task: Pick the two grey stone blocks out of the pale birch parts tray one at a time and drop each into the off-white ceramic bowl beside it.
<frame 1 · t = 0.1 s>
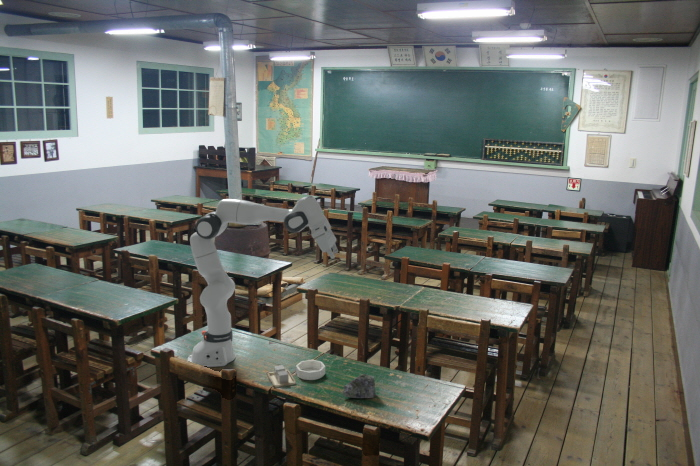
hand: (335, 255, 249), 54 cm above the table, tool tilted 30°, fingers open, 8 cm apart
stone far: (279, 376, 248), point 1 cm above the table, touching tray
bowl: (310, 374, 251), on the table
tray: (281, 380, 245), on the table
mineral rock: (360, 396, 233), on the table
stone near: (282, 382, 242), point 1 cm above the table, touching tray
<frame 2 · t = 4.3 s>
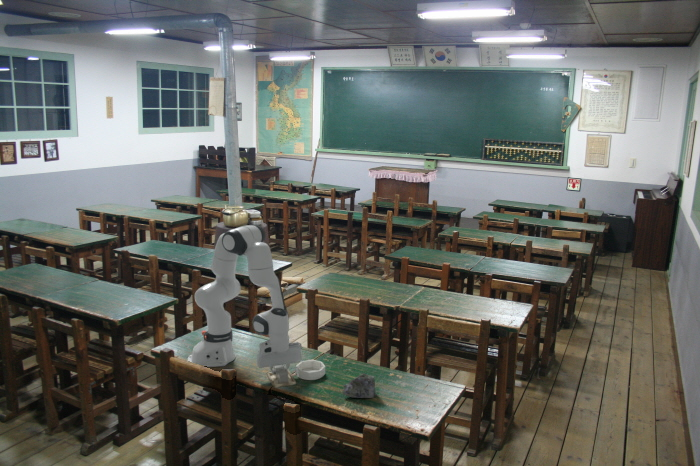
hand: (279, 373, 248), 2 cm above the table, tool pointing down, fingers closed on stone far, 4 cm apart
stone far: (279, 376, 248), point 1 cm above the table, touching gripper, tray
everything else where it was.
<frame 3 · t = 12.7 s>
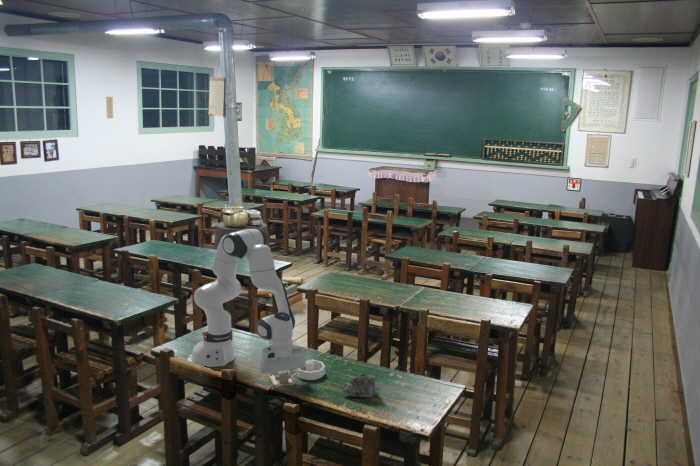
hand: (282, 379, 242), 2 cm above the table, tool pointing down, fingers closed on stone near, 4 cm apart
stone far: (309, 371, 253), point 1 cm above the table, touching bowl
stone near: (282, 382, 242), point 1 cm above the table, touching gripper, tray
when the fingers open (6 cm above the table, at t = 17.1 s): stone near drops 3 cm, resting on bowl.
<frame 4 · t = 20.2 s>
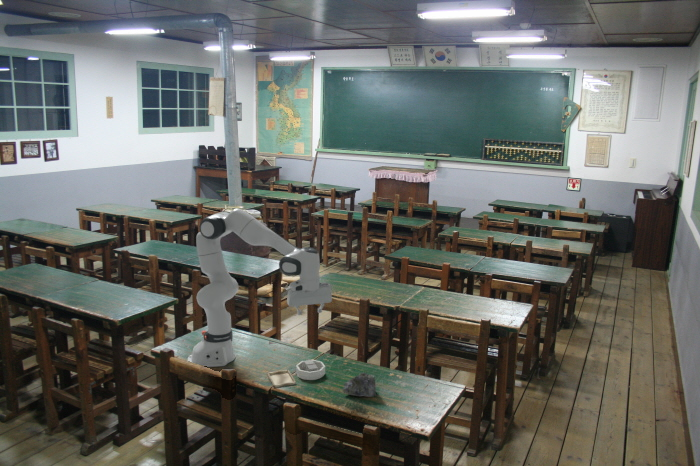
hand: (309, 313, 247), 29 cm above the table, tool pointing down, fingers open, 8 cm apart
stone near: (312, 375, 249), point 1 cm above the table, touching bowl
at the end: stone near inside the target area on the bowl (2.5 cm from its centre), point 0.8 cm above the bowl's base; stone far inside the target area on the bowl (2.4 cm from its centre), point 0.8 cm above the bowl's base; the gripper is holding nothing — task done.
